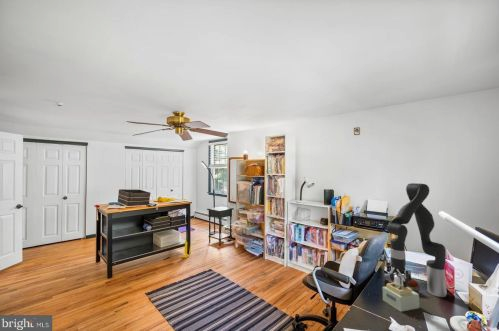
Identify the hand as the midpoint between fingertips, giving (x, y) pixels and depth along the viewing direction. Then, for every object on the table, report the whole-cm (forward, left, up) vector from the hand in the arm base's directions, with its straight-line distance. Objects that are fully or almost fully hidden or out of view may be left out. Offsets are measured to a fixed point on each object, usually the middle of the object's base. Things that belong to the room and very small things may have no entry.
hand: (398, 283), depth 131 cm
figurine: (-16, -12, -12) cm, 23 cm away
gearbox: (-1, -2, -12) cm, 12 cm away
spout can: (0, 0, -4) cm, 4 cm away
